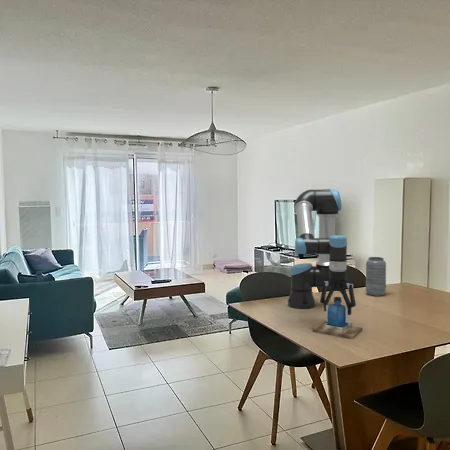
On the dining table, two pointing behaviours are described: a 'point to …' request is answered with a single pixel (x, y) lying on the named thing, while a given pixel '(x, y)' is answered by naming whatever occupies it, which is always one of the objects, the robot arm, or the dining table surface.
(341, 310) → the perfume bottle
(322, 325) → the brown board with frame
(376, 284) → the vase
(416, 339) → the dining table surface
